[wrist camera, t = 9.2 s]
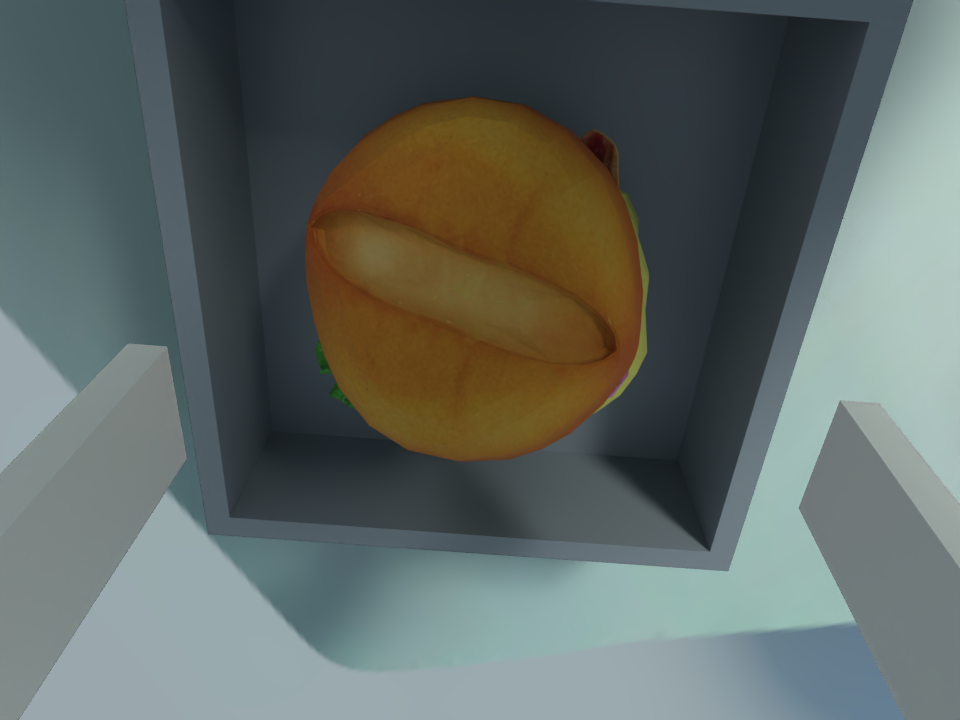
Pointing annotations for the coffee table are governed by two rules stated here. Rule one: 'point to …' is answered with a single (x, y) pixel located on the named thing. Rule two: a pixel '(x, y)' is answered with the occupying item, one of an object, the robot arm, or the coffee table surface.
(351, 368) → the cheeseburger
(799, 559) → the coffee table surface
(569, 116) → the bin
